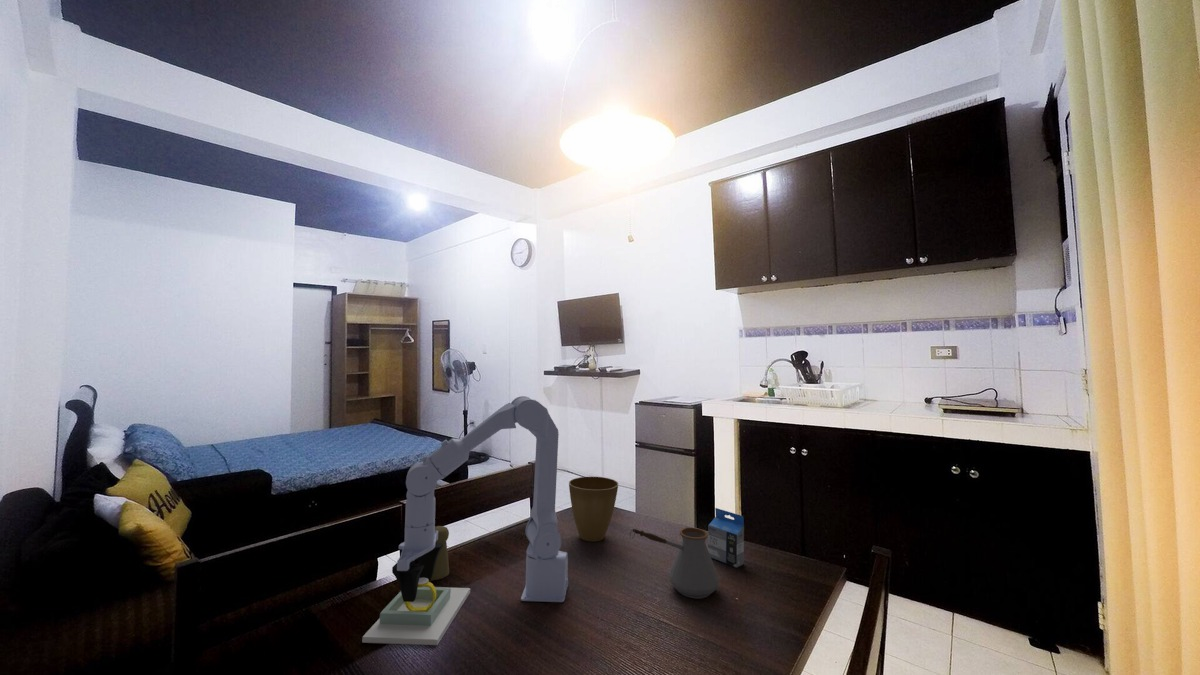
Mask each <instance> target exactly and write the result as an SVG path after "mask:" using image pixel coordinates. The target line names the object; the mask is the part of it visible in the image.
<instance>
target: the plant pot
mask: <svg viewBox="0 0 1200 675" xmlns="http://www.w3.org/2000/svg"><path fill="white" fill-rule="evenodd" d="M568 488H569V498H570V504H571V509H572V514H573V518H574V522H575V526H576V529H577V533H578V535H579V539H581V540H583V541H586V542H592V543H593V542H600V541H602V540H604V539H605V537H606V535H607V532H608V528H609V526H610V524H611V521H612V518H613V513H614V510H615V506H616V500H617V496H618V495H617V494H618V489H619V482H618V481H616V480H615V479H612V478H608V477H603V476H581V477H576V478H572V479H571V480H569V481H568Z"/></svg>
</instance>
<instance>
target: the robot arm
mask: <svg viewBox="0 0 1200 675" xmlns="http://www.w3.org/2000/svg"><path fill="white" fill-rule="evenodd" d="M516 424H518V425H519V426H521V428H524V429H526V430H528V431H529V432H530V433H531V434H532V435H533V436H534V437H535V439H536V441H535V442H536V443H535V460H534V462H535V464H534V477H533V478H534V480H533V502H532V508H531V509H530V514H529V520H528V521H527V524H526V526H525V530H524V531H525V536H526V538H527V540H528V541H529V543H528V546H527V548H526V558H525V561H526V562H525V564H526V565H525V586H524V589H523V592H522V594H521V597H520V601H522V602H542V603H543V602H546V603H563V602H565V599H566V595H567V590H568V586H569V578H568V577H569V576H568V572H569V571H568V570H569V566H568V565H569V555H568V552H567V551H562V550H560V549H561V546H562V537H561V535H560V532H559V522H558V518H557V513H556V512H557V511H556V500H557V499H556V497H557V496H556V494H557V476H558V474H557V472H558V456H559V455H558V454H559V453H558V451H559V450H558V449H559V436H560V434H559V429H558V427H557V425H556V424H555V422H554V420H553V418H552V417H551V415H550V413H549V411H548V408H547V407H545V406H544V405H543V404H542V403H541V402H539V401H537V400H536V399H532V398H530V397H529V396H523V395H522V396H521V395H520V396H518V397H516V398H514V399H512V401H511V402H507V403H506V404H504V405H503V406H501V407H500V408H499V409H497V410H496V411H495V412H493V413H492V414H491V415H490V416H488V417H487V418H486V419H484V420H483V421H482V422H481V423H480V424H478V425H477V426H475V428H473V429H472V430H470V431H469V432H468V433H467V434H466V435H464V436H463V437H461V438H452V437H451V439H450V440H448V439H444V440H443V441H442V442H441V443H440V445H441V446H439V448H437V449H436V450H434V451H433V452H432V453H431V454H429V455H427V456H426V455H424V456H422V457H421V461H418V462H415V463H414V464H412V465H411V467H410V468H409V469H408V471H407V473H406V474H407V475H406V478H405V486H406V487H405V488H406V489H407V491H406V494H405V495H406V496H405V497H406V501H405V510H404V511H405V514H404V515H405V516H404V517H405V518H404V521H405V522H404V541H403V542H400V544H399V545H398V550H401V553H400V557H399V558H398V559H397V561H396V563H395V564H394V565H393V566H391V567H392V569H391V570H392V572H391V573H392V574H393V575H394V577H395V580H396V581H397V584H399V588H400V591H401V594H402V598H403V601H404V602H414V600H415V598H416V594H417V588H418V582H419V578H428V580H429V582H430V583H431V581H433V580H432V576H433V572H434V568H435V564H436V561H437V558H438V555H439V553H440V551H441V549H442V547H443V543H437V542H436V541H437V540H438V531H435V527H436V525H435V524H436V520H435V519H436V497H435V489H436V486H437V484H438V481H441V480H443V479H445V478H446V477H447V476H449V475H450V474H452V472H454V471H455V470H457V469H458V468H460V466H462V465H463V464H464V463H466V462H467V461H468V460H469V457H470V452H471V451H472V450H473V449H474V448H476V447H478V446H479V445H481V444H482V443H483V442H485V441H486V440H488V439H490V438H491V437H492V436H494V435H495V434H497V432H499V431H501V430H505V429H506V430H507V429H509V430H510V429H517V426H516ZM415 560H417V561H418V563H416V562H415Z"/></svg>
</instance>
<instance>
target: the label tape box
mask: <svg viewBox="0 0 1200 675" xmlns="http://www.w3.org/2000/svg"><path fill="white" fill-rule="evenodd" d="M714 509H715V510H714V511H715V516H714V518H712V521H711V522H710V523H709V524H708V527H707V528H708V529H707V530H708V532H707V533H708V537H707V549H708V552H709V554H710V557H711V559H714V560H716V561H719V562H722V563H724V564H726V565H729V566H732V567H734V568H739V567H741V566H743V565H744V560H745V559H744V558H745V556H744V555H745V554H744V553H745V552H744V551H745V550H744V548H745V546H744V545H745V542H744V541H745V540H744V538H745V537H744V536H745V524H744V523H745V522H744V515H740V514H737V513H734V512H731V511H727V510H724V509H720V508H717V507H715V508H714ZM726 516H727V517H726ZM728 516H730V518H729V517H728ZM732 518H733V519H732Z"/></svg>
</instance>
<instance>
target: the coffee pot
mask: <svg viewBox="0 0 1200 675" xmlns="http://www.w3.org/2000/svg"><path fill="white" fill-rule="evenodd" d="M632 532H633V536H631V534H632ZM679 534H680V536H681V538H682V541H681V543H676V542H672V541H670V540H667V539H666V538H663V537H661V536H658V535H656V534H653V533H651V532H650V533H649V532H646V531H645V530H639V529H636V528H633V529H631V530H630V532H629V538H630V539H634V538H635V535H640V537H645V538H647V539H649V540H651V541H654V542H658V543H662V544H666V545H668V546H670V547H673V548H676V549H678V551H677V553H676V555H675V557H674V560H673V562H672V564H671V566H670V569H669V572H668V578H669V581H670V583H671V584H672V586H673V587H674V588H675V589H676V590H677V592H678V593H679V594H680V595H683V596H684V597H687V598H689V599H690V598H691V599H697V600H698V599H704V598H707V597H709V596H710V595H711V594H713V593H714V592H715V591H716V590H717V589H718V587H719V584H720V578H719V574H718V572H717V569H716V566H715V565H714V562H713V560H712V559H713V558H711V557H710V554H709V552H708V546H707V545H706V540H707V539H708V532H707V531H706V530H703V529H701V528H697V527H688V526H687V527H684V528H682V529H680V531H679Z"/></svg>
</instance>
